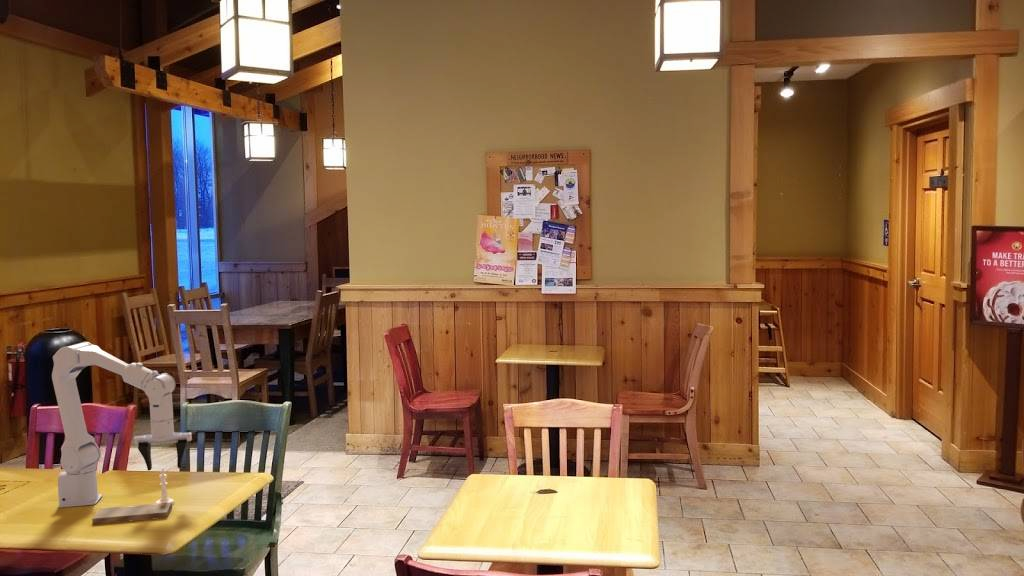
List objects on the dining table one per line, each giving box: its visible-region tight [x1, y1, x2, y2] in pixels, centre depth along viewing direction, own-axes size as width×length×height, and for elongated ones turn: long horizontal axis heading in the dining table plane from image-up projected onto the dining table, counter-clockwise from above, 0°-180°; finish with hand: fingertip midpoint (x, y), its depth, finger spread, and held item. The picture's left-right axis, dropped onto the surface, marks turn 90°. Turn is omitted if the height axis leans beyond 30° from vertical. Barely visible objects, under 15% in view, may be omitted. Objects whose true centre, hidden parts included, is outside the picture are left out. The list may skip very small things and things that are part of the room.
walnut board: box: [91, 502, 173, 525], centre depth 228 cm, size 18×8×2 cm, turn 102°
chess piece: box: [154, 467, 175, 505], centre depth 236 cm, size 5×5×10 cm
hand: (164, 468), depth 236 cm, fingers open, 7 cm apart
